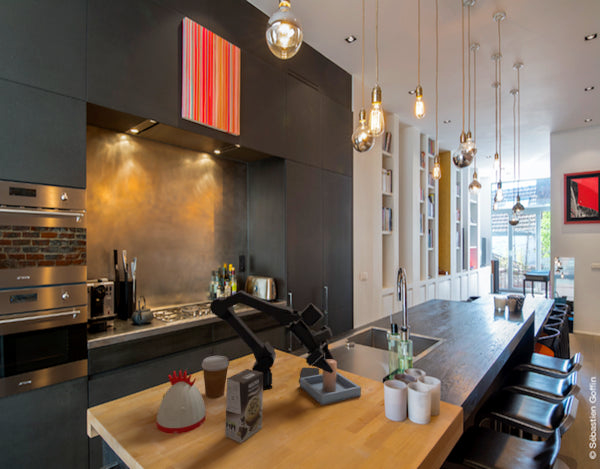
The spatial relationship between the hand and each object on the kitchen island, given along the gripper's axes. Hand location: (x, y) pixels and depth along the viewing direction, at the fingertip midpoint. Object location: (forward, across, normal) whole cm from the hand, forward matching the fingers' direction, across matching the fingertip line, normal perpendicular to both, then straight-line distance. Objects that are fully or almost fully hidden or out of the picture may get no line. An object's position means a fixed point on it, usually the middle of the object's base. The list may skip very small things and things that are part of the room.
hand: (333, 367), depth 123 cm
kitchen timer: (-24, -30, +37) cm, 53 cm away
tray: (+5, 0, +7) cm, 9 cm away
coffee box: (-10, -32, +22) cm, 40 cm away
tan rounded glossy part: (+5, 0, +7) cm, 8 cm away
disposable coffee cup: (-22, -12, +35) cm, 43 cm away
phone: (-1, +12, +14) cm, 18 cm away
